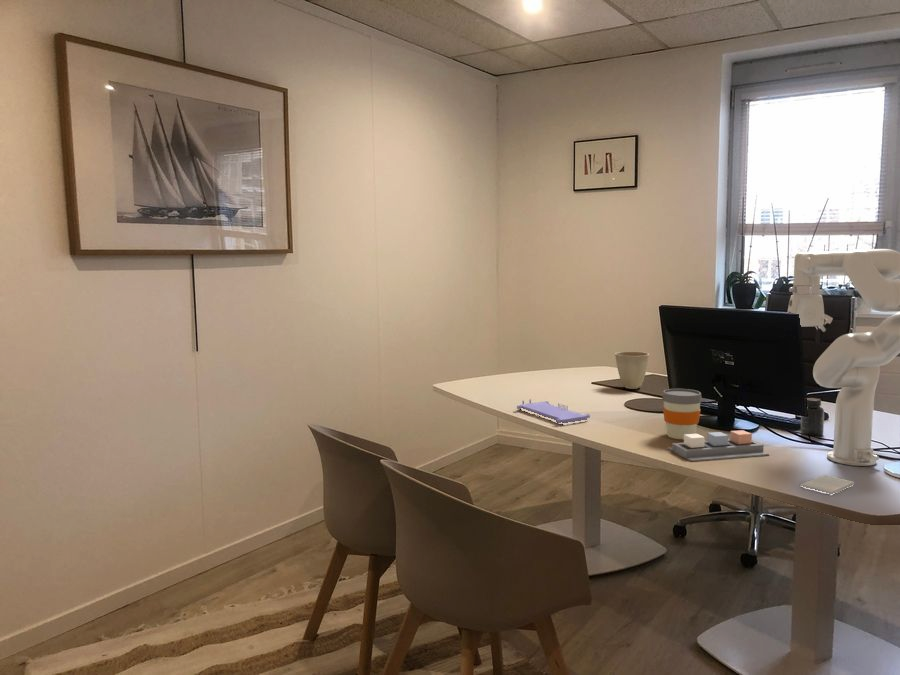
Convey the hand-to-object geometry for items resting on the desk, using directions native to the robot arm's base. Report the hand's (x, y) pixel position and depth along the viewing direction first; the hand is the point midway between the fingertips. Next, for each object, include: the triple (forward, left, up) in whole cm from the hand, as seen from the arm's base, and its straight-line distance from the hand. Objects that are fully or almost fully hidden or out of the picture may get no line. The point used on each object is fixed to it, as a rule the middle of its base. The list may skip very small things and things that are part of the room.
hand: (803, 343), depth 224 cm
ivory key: (-7, +42, -29) cm, 52 cm away
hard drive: (-42, +24, -32) cm, 59 cm away
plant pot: (+92, +15, -32) cm, 98 cm away
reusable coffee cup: (+13, +35, -32) cm, 49 cm away
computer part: (+51, +68, -32) cm, 91 cm away
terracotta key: (-7, +26, -29) cm, 40 cm away
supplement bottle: (+4, -8, -32) cm, 33 cm away
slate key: (-7, +34, -29) cm, 46 cm away
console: (-7, +34, -32) cm, 47 cm away
